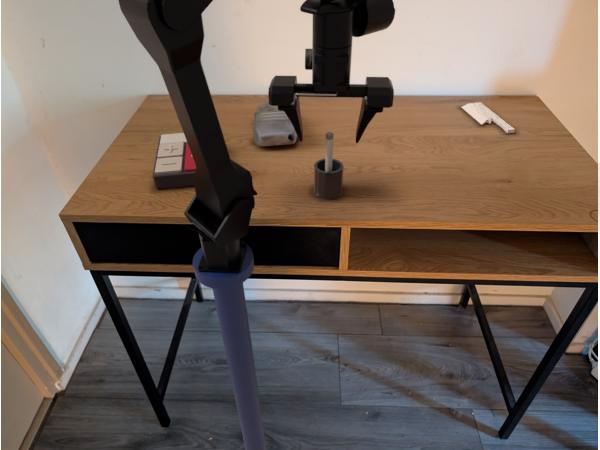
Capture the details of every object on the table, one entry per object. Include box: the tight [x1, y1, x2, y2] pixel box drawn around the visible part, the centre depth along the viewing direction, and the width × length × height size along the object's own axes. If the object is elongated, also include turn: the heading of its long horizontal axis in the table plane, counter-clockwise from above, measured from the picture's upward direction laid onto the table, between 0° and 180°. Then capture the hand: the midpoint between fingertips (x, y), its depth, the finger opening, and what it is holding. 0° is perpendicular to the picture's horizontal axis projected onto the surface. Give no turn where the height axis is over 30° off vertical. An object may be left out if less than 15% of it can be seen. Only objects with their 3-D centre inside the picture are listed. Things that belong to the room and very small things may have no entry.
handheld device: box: [252, 101, 298, 147], centre depth 97 cm, size 10×20×5 cm, turn 8°
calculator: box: [152, 132, 196, 190], centre depth 85 cm, size 11×4×15 cm
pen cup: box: [313, 158, 345, 201], centre depth 77 cm, size 5×5×6 cm
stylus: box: [324, 131, 334, 172], centre depth 74 cm, size 1×1×11 cm
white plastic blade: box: [461, 101, 516, 134], centre depth 100 cm, size 5×15×1 cm, turn 10°
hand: (329, 141), depth 72 cm, fingers open, 9 cm apart
